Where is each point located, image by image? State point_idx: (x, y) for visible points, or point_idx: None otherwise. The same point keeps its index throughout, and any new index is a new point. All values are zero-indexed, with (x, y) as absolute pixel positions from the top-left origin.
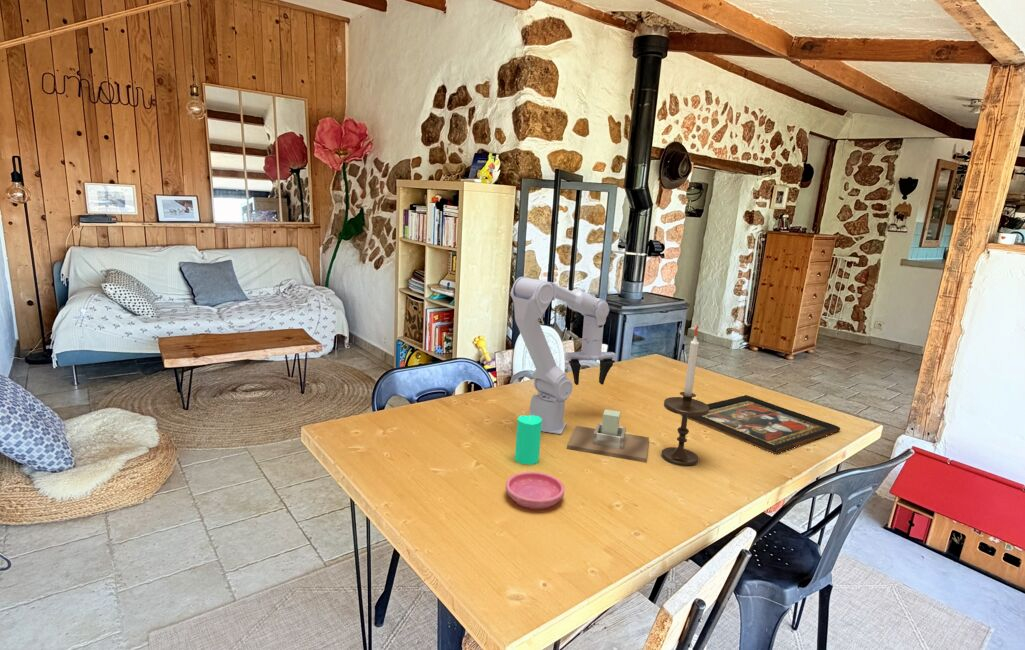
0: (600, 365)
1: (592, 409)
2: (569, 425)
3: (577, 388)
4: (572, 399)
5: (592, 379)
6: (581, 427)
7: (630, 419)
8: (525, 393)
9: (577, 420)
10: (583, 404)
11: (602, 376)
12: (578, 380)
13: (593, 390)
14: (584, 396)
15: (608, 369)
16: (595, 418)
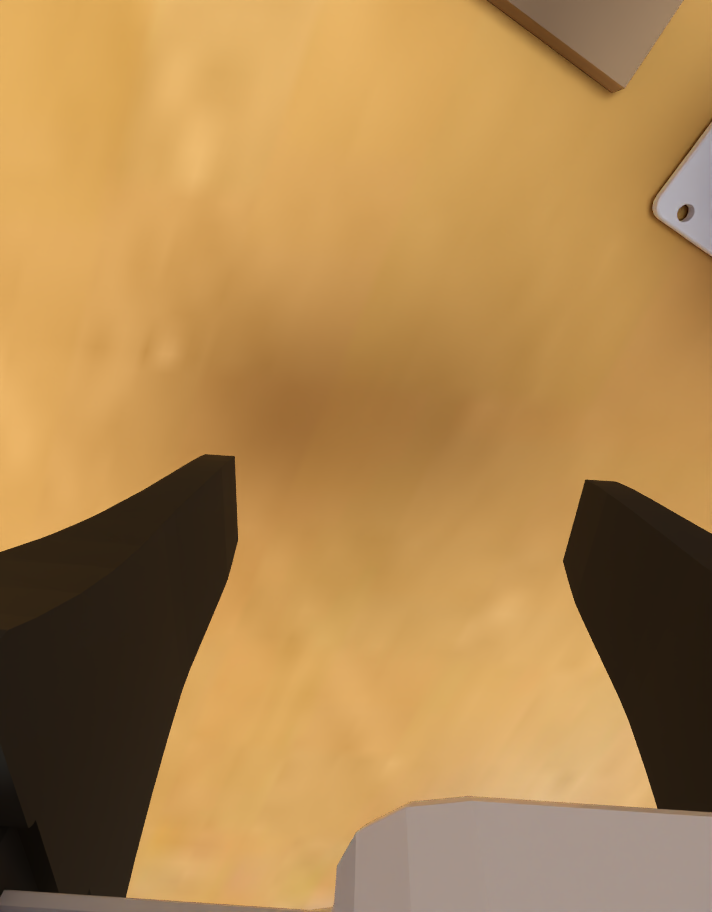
0: (144, 778)
1: (284, 494)
2: (622, 193)
3: (263, 785)
4: (359, 656)
5: (135, 867)
6: (596, 25)
7: (33, 273)
8: (616, 758)
9: (495, 299)
10: (317, 579)
11: (190, 521)
12: (628, 503)
13: (174, 754)
14: (261, 688)
15: (7, 560)
16: (325, 325)
